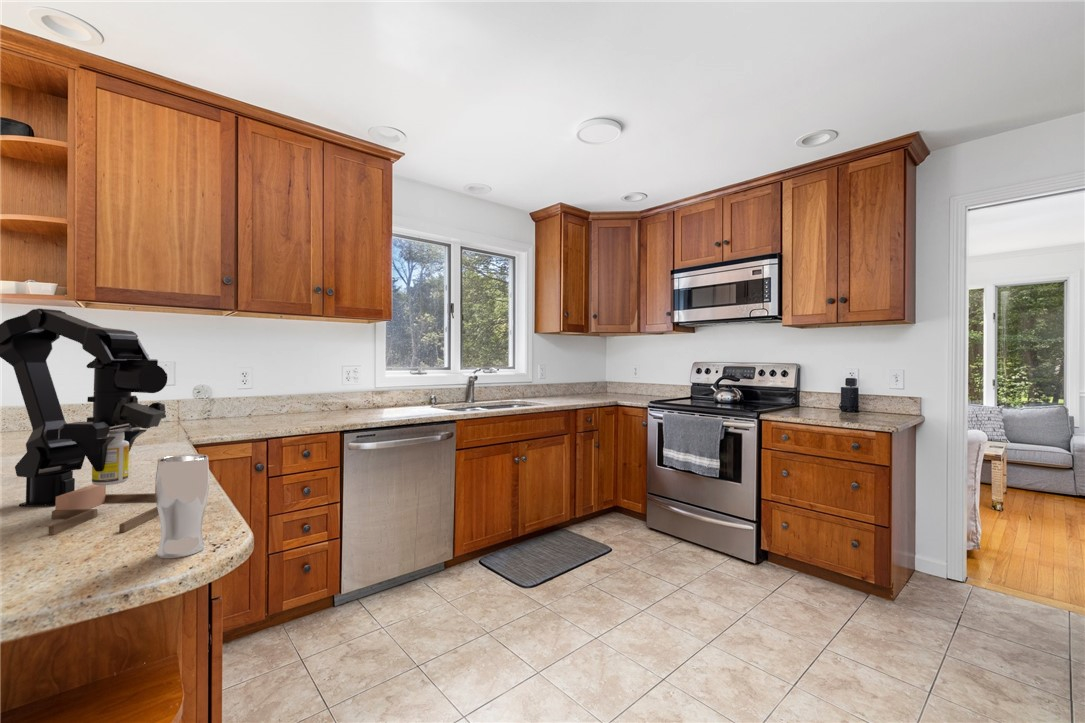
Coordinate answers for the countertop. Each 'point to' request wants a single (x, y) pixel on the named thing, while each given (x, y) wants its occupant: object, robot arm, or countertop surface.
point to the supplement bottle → (114, 462)
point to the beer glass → (181, 503)
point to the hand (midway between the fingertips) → (110, 468)
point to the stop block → (82, 498)
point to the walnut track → (83, 515)
